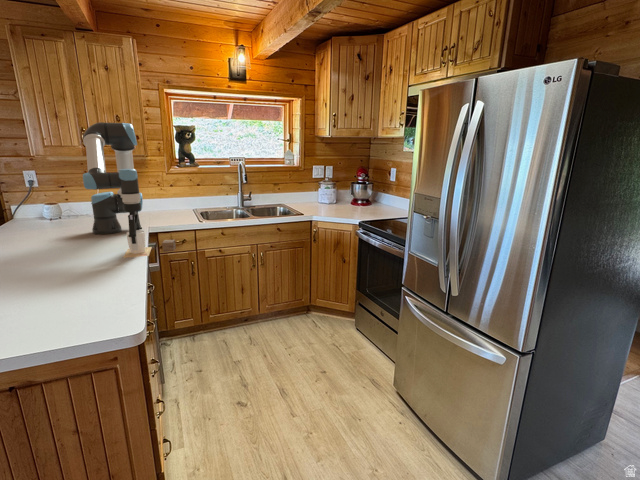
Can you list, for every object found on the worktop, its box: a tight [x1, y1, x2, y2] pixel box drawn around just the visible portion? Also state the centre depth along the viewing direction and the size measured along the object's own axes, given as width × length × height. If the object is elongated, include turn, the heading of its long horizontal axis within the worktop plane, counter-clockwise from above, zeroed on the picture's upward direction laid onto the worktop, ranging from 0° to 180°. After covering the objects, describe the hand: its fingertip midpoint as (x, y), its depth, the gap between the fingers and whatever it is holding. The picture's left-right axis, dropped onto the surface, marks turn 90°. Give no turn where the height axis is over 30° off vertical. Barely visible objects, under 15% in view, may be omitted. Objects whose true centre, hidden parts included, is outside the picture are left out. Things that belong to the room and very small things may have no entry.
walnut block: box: [161, 239, 177, 253], centre depth 179 cm, size 5×5×5 cm
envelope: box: [122, 246, 153, 259], centre depth 175 cm, size 16×11×1 cm
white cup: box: [126, 229, 146, 254], centre depth 174 cm, size 8×8×10 cm
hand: (137, 246), depth 175 cm, fingers open, 13 cm apart
